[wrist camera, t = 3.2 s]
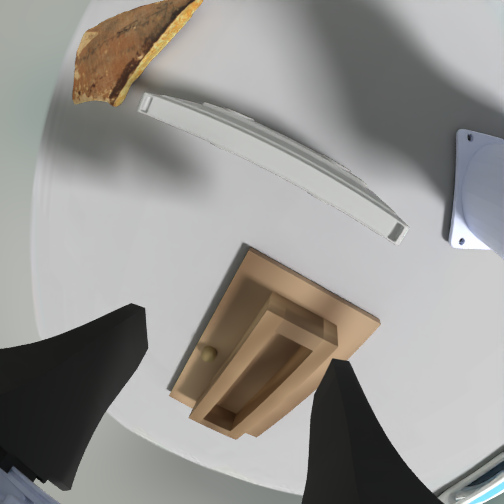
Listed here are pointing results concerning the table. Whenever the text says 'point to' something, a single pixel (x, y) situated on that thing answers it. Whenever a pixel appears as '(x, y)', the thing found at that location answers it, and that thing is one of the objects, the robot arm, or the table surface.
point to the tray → (267, 348)
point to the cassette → (279, 159)
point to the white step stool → (476, 486)
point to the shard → (125, 49)
